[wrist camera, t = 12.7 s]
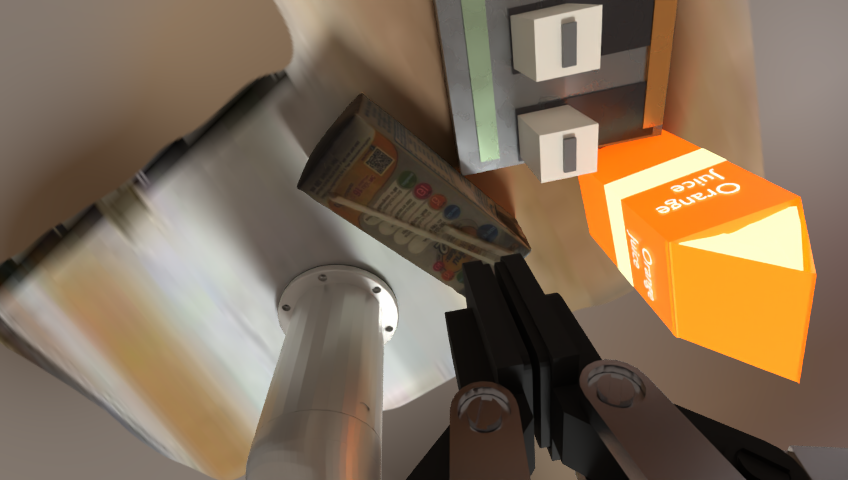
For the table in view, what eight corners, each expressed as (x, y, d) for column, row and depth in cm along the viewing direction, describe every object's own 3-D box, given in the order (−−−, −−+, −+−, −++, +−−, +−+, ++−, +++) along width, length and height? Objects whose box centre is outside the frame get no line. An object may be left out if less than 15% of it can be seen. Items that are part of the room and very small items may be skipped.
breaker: (568, 147, 34) (598, 173, 29) (520, 156, 34) (542, 184, 29) (567, 104, 32) (600, 124, 27) (517, 115, 32) (540, 137, 27)
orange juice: (588, 235, 41) (730, 405, 24) (572, 158, 37) (732, 300, 20) (666, 207, 40) (872, 365, 23) (659, 124, 36) (908, 244, 18)
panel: (648, 128, 36) (663, 136, 34) (458, 167, 36) (462, 177, 34) (678, -164, 26) (702, -177, 24) (417, -103, 26) (419, -111, 24)
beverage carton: (462, 270, 43) (473, 312, 37) (303, 159, 35) (287, 191, 30) (518, 218, 40) (539, 254, 34) (358, 86, 32) (351, 104, 27)
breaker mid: (567, 57, 30) (602, 69, 25) (513, 68, 30) (538, 82, 25) (567, 3, 28) (604, 4, 23) (510, 15, 28) (535, 19, 23)
